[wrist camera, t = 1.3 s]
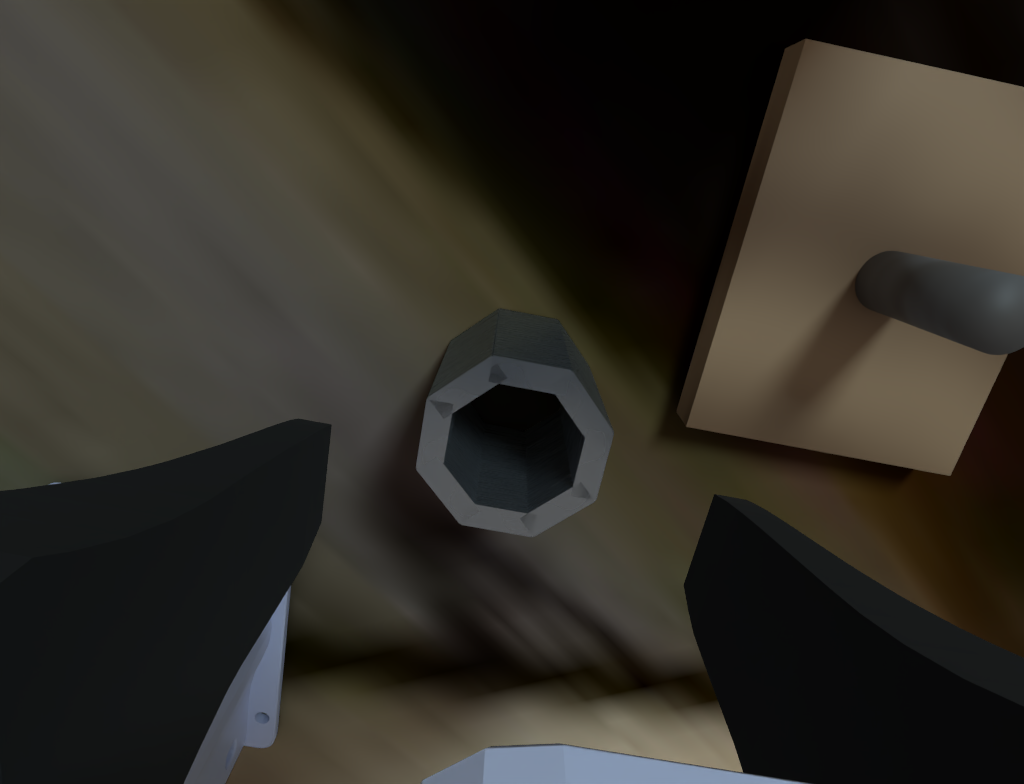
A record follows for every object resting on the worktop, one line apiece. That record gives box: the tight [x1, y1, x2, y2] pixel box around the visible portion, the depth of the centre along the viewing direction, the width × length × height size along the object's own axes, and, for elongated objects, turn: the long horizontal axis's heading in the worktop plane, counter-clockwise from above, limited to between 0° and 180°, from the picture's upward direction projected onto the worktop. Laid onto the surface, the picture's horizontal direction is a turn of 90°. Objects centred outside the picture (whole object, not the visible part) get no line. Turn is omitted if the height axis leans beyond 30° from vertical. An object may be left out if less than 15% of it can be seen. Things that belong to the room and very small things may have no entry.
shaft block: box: [676, 39, 1024, 476], centre depth 15 cm, size 10×8×6 cm
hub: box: [416, 308, 614, 537], centre depth 16 cm, size 4×4×5 cm
